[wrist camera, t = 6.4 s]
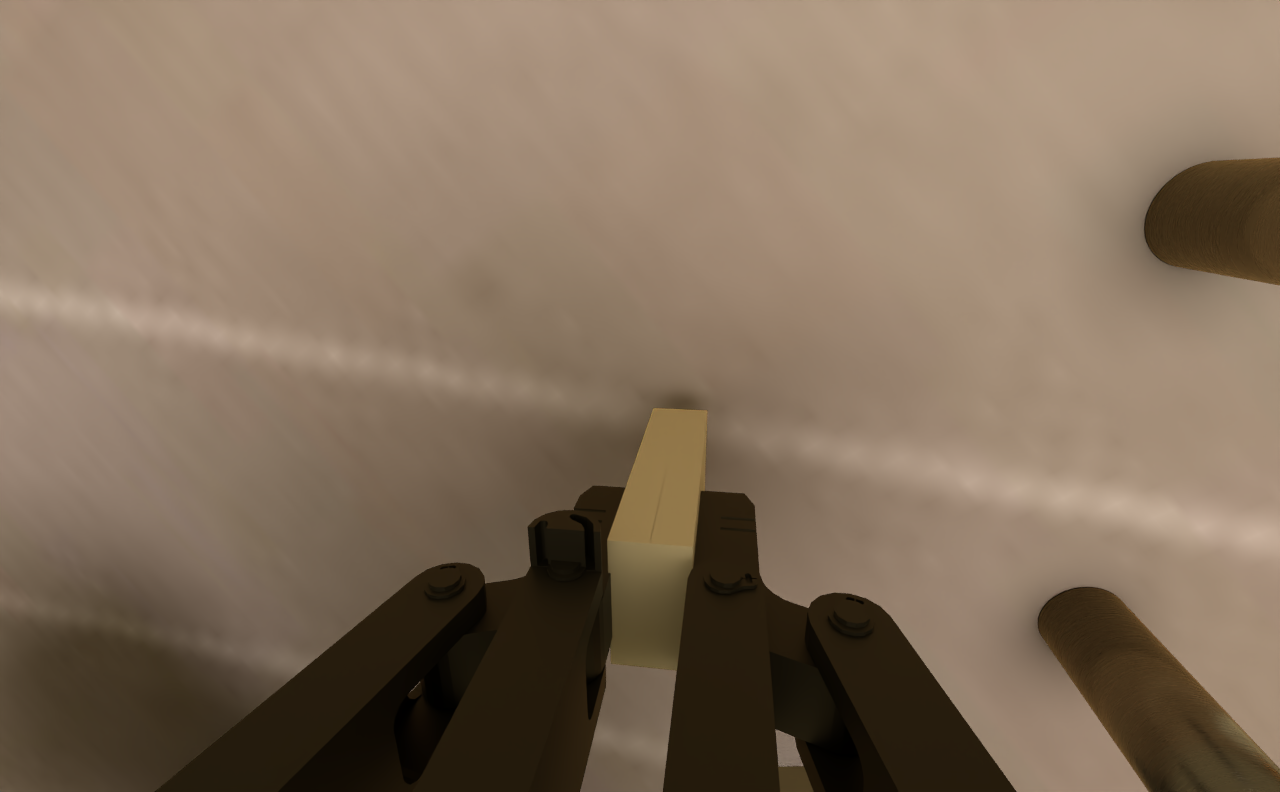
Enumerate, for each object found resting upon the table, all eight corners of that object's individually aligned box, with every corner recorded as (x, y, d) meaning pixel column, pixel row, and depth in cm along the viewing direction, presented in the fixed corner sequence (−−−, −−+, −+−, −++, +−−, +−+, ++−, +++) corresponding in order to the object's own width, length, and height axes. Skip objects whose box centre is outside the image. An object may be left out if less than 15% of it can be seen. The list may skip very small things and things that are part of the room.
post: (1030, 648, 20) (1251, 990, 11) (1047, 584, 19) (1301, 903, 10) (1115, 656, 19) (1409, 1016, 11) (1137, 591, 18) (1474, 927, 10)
